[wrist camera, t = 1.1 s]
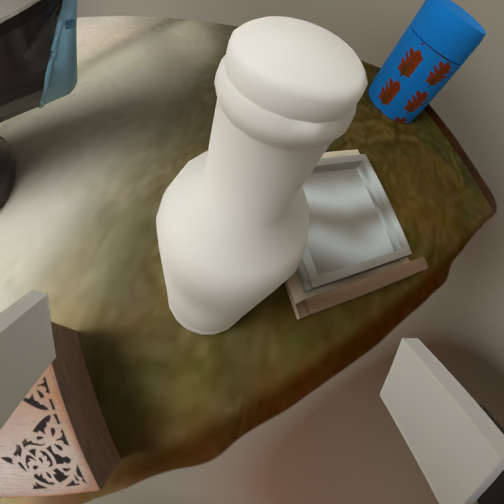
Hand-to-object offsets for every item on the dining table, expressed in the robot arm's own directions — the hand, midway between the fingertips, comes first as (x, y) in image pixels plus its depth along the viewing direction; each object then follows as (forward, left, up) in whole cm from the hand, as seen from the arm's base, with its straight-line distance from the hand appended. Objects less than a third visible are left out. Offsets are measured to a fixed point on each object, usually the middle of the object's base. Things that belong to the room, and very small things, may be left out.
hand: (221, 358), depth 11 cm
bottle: (-6, +3, -23) cm, 24 cm away
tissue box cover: (+2, -24, -24) cm, 34 cm away
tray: (-11, +21, -23) cm, 33 cm away
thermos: (-32, +46, -23) cm, 61 cm away
